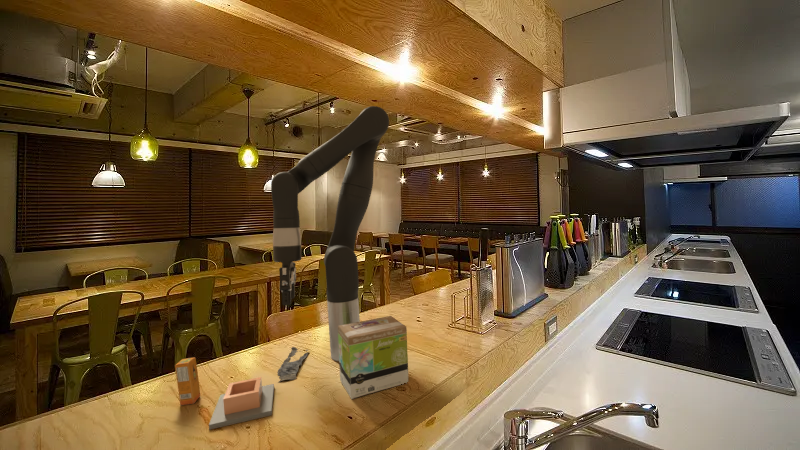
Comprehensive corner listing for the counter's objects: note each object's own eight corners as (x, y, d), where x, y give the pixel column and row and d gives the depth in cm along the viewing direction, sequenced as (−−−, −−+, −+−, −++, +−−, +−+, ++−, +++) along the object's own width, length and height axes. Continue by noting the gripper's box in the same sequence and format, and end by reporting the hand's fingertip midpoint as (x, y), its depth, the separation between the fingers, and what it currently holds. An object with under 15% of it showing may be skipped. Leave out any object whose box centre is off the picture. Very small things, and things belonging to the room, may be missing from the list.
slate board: (274, 387, 83) (273, 383, 83) (271, 415, 72) (271, 410, 72) (220, 398, 79) (220, 394, 79) (209, 429, 68) (208, 424, 68)
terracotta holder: (262, 391, 80) (261, 376, 80) (259, 407, 73) (258, 391, 73) (230, 397, 78) (229, 383, 77) (224, 414, 71) (223, 399, 71)
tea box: (351, 401, 75) (347, 337, 74) (339, 381, 84) (336, 324, 84) (410, 383, 82) (407, 324, 81) (393, 366, 91) (390, 313, 90)
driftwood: (294, 383, 86) (294, 375, 85) (268, 385, 85) (267, 377, 85) (313, 350, 106) (312, 344, 106) (292, 352, 106) (291, 345, 106)
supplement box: (186, 398, 80) (182, 357, 80) (200, 396, 81) (197, 356, 80) (178, 406, 77) (174, 364, 77) (193, 404, 77) (189, 362, 77)
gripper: (298, 245, 87) (300, 306, 87) (303, 242, 101) (304, 295, 101) (268, 246, 85) (270, 308, 85) (277, 243, 99) (279, 297, 99)
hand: (288, 301), depth 93 cm, fingers open, 8 cm apart
